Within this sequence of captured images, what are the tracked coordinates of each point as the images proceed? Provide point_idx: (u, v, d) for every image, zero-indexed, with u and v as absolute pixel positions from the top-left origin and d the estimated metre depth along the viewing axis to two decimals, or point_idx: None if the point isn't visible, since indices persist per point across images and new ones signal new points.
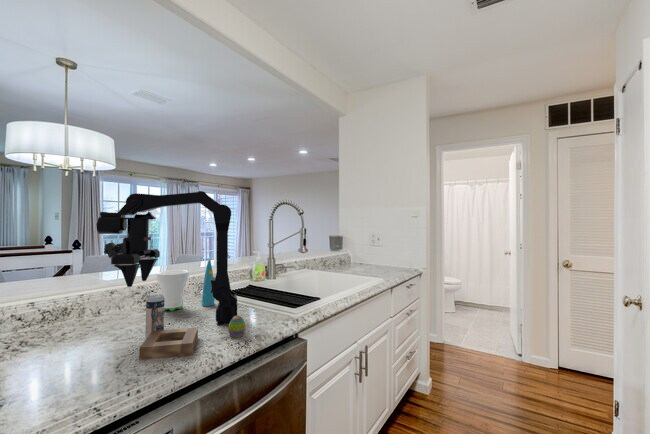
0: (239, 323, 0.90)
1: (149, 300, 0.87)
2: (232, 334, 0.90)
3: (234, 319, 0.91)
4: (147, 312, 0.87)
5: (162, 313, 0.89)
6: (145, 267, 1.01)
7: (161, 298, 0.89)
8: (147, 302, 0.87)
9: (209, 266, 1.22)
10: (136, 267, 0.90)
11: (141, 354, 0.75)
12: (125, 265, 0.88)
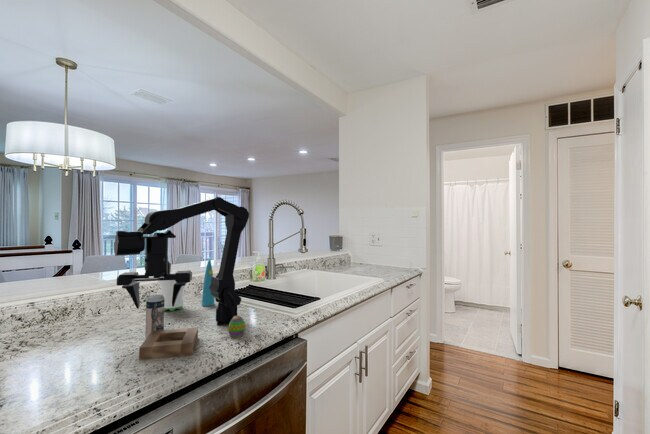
0: (239, 323, 0.90)
1: (149, 300, 0.87)
2: (232, 334, 0.90)
3: (234, 319, 0.91)
4: (147, 312, 0.87)
5: (162, 313, 0.89)
6: None
7: (161, 298, 0.89)
8: (147, 302, 0.87)
9: (209, 266, 1.22)
10: (128, 289, 0.85)
11: (141, 354, 0.75)
12: None
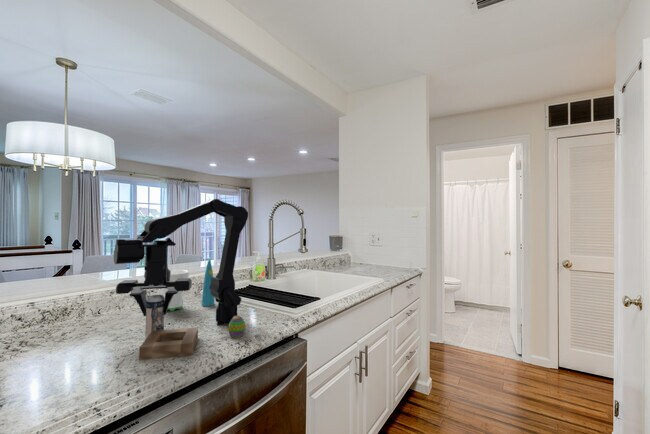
0: (239, 323, 0.90)
1: (149, 300, 0.87)
2: (232, 334, 0.90)
3: (234, 319, 0.91)
4: (147, 312, 0.87)
5: (162, 313, 0.89)
6: None
7: (161, 298, 0.89)
8: (147, 302, 0.87)
9: (209, 266, 1.22)
10: (135, 297, 0.86)
11: (141, 354, 0.75)
12: None
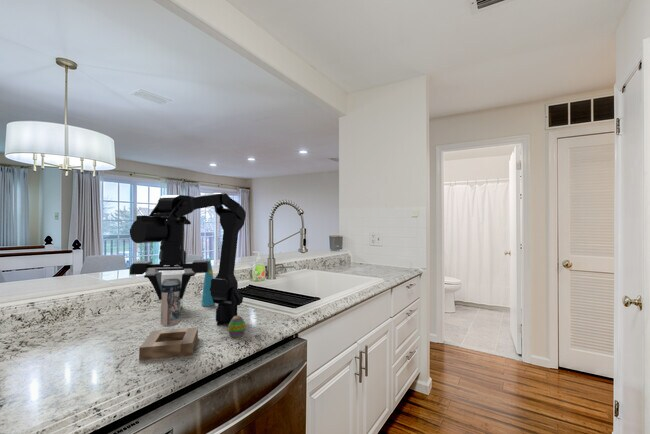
0: (239, 323, 0.90)
1: (165, 283, 0.81)
2: (232, 334, 0.90)
3: (234, 319, 0.91)
4: (163, 296, 0.81)
5: (178, 298, 0.82)
6: None
7: (177, 281, 0.82)
8: (163, 286, 0.81)
9: (209, 266, 1.22)
10: (150, 279, 0.79)
11: (141, 354, 0.75)
12: None
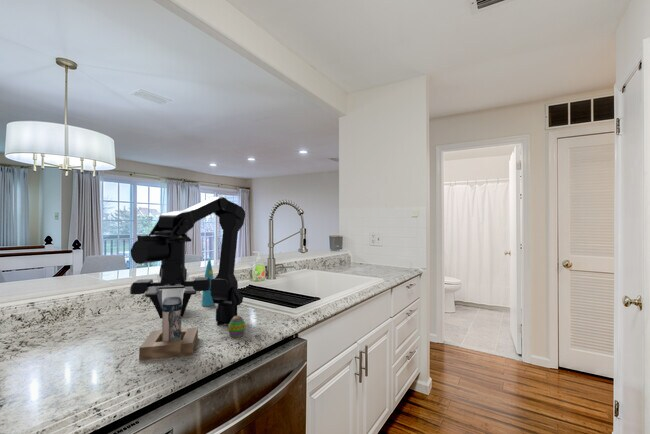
0: (239, 323, 0.90)
1: (166, 303, 0.80)
2: (232, 334, 0.90)
3: (234, 319, 0.91)
4: (164, 316, 0.80)
5: (180, 317, 0.82)
6: None
7: (178, 300, 0.82)
8: (164, 305, 0.81)
9: (209, 266, 1.22)
10: (151, 298, 0.79)
11: (141, 354, 0.75)
12: None
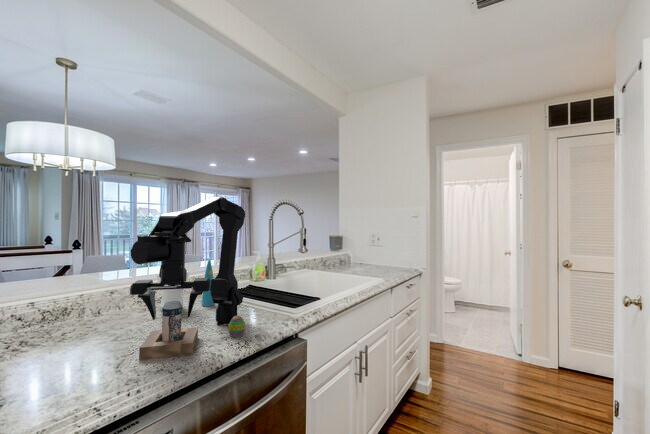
0: (239, 323, 0.90)
1: (166, 307, 0.80)
2: (232, 334, 0.90)
3: (234, 319, 0.91)
4: (164, 320, 0.80)
5: (180, 321, 0.82)
6: None
7: (179, 305, 0.82)
8: (164, 309, 0.81)
9: (209, 266, 1.22)
10: (144, 299, 0.78)
11: (141, 354, 0.75)
12: None
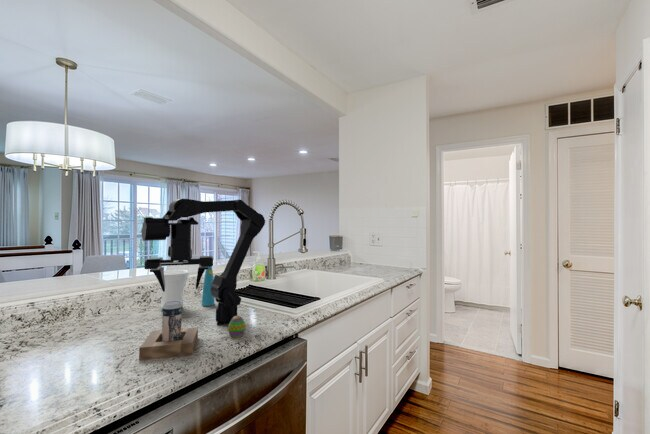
0: (239, 323, 0.90)
1: (166, 307, 0.80)
2: (232, 334, 0.90)
3: (234, 319, 0.91)
4: (164, 320, 0.80)
5: (180, 321, 0.82)
6: None
7: (179, 305, 0.82)
8: (164, 309, 0.81)
9: None
10: (155, 273, 0.90)
11: (141, 354, 0.75)
12: None
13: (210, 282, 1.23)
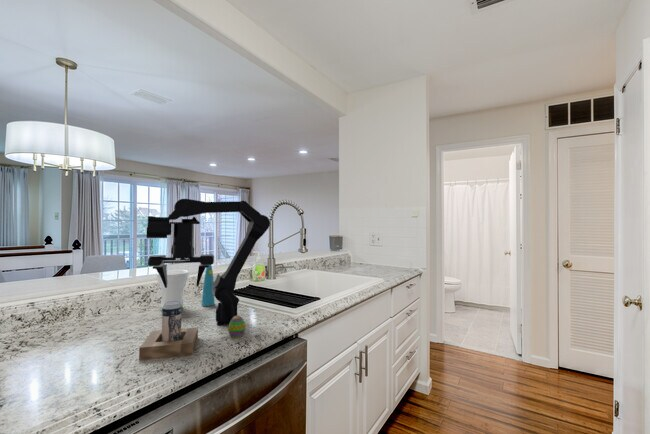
0: (239, 323, 0.90)
1: (166, 307, 0.80)
2: (232, 334, 0.90)
3: (234, 319, 0.91)
4: (164, 320, 0.80)
5: (179, 321, 0.82)
6: None
7: (178, 305, 0.82)
8: (163, 309, 0.81)
9: (209, 266, 1.22)
10: (158, 270, 0.94)
11: (141, 354, 0.75)
12: None
13: (210, 282, 1.23)
